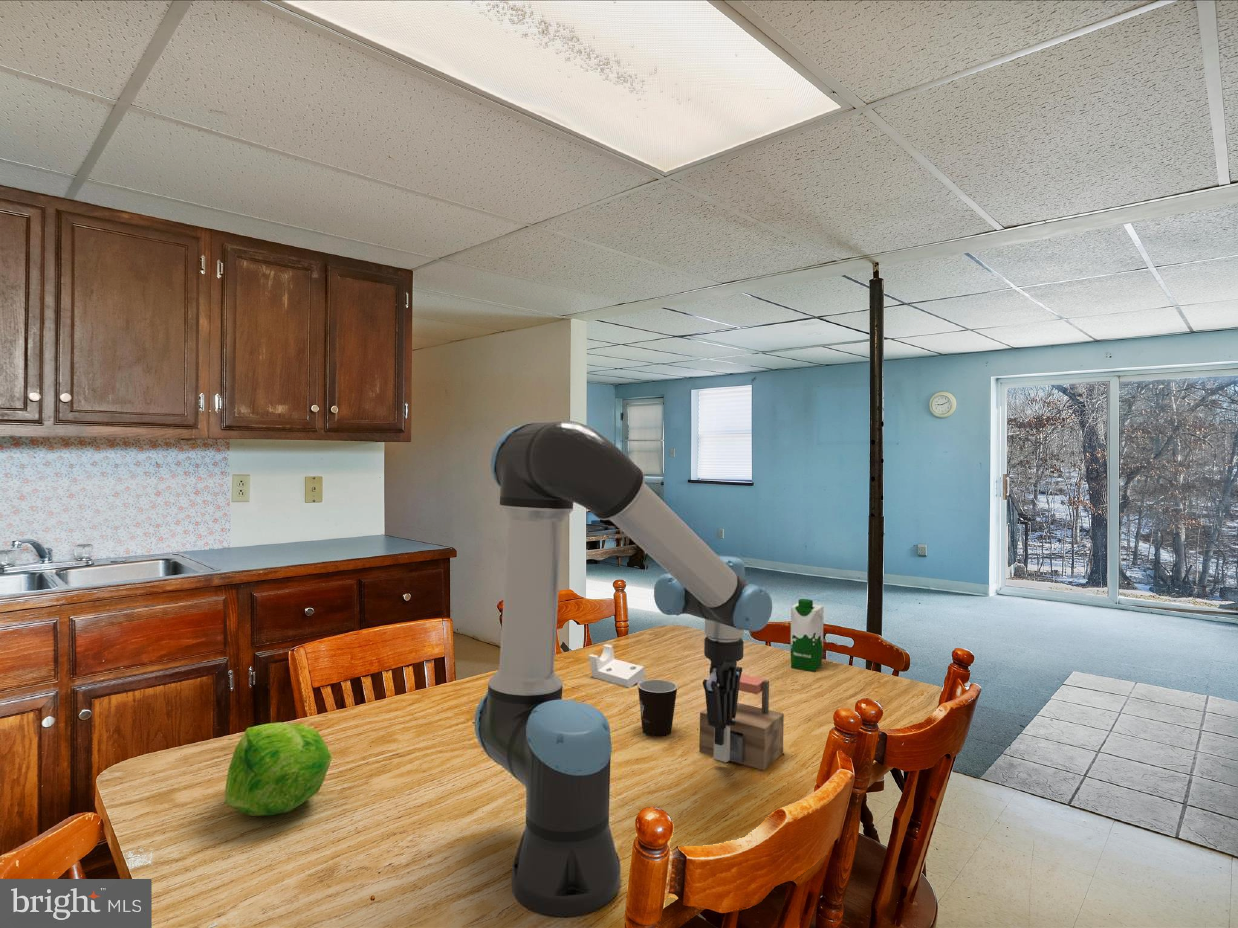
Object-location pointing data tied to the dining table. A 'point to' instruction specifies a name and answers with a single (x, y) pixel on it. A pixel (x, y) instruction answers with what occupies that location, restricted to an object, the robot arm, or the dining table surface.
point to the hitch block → (751, 732)
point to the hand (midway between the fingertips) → (721, 758)
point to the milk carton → (806, 635)
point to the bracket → (615, 669)
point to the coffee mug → (657, 706)
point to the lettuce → (276, 768)
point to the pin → (737, 747)
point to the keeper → (750, 684)
